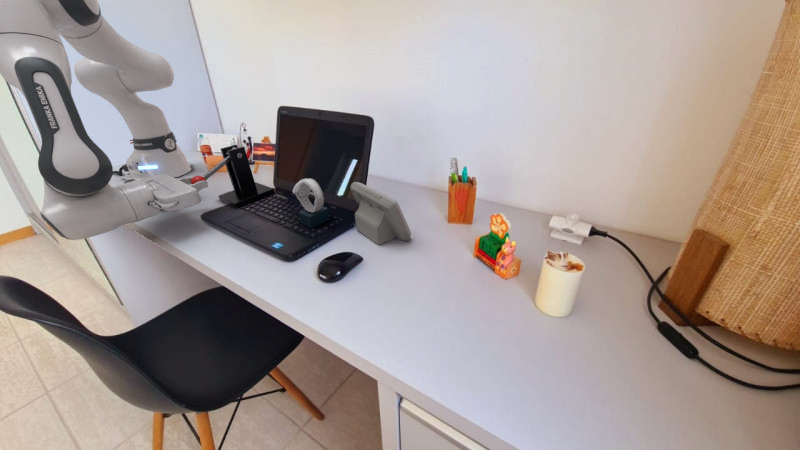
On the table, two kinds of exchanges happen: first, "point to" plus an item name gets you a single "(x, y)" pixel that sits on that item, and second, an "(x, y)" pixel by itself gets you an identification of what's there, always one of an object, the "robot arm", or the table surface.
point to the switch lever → (212, 171)
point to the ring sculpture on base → (311, 213)
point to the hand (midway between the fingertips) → (202, 181)
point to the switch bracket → (242, 179)
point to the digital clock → (378, 215)
